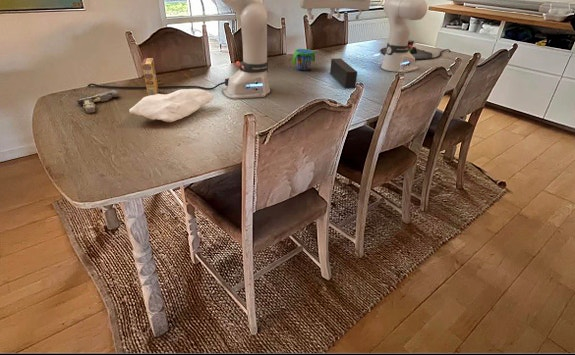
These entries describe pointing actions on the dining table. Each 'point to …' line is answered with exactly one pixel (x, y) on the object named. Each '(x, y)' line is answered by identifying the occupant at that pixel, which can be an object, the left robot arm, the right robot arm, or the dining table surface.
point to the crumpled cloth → (171, 104)
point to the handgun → (95, 100)
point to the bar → (343, 73)
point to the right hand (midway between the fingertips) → (347, 18)
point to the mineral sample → (414, 51)
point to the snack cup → (303, 58)
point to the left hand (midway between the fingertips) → (320, 18)
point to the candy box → (150, 76)
